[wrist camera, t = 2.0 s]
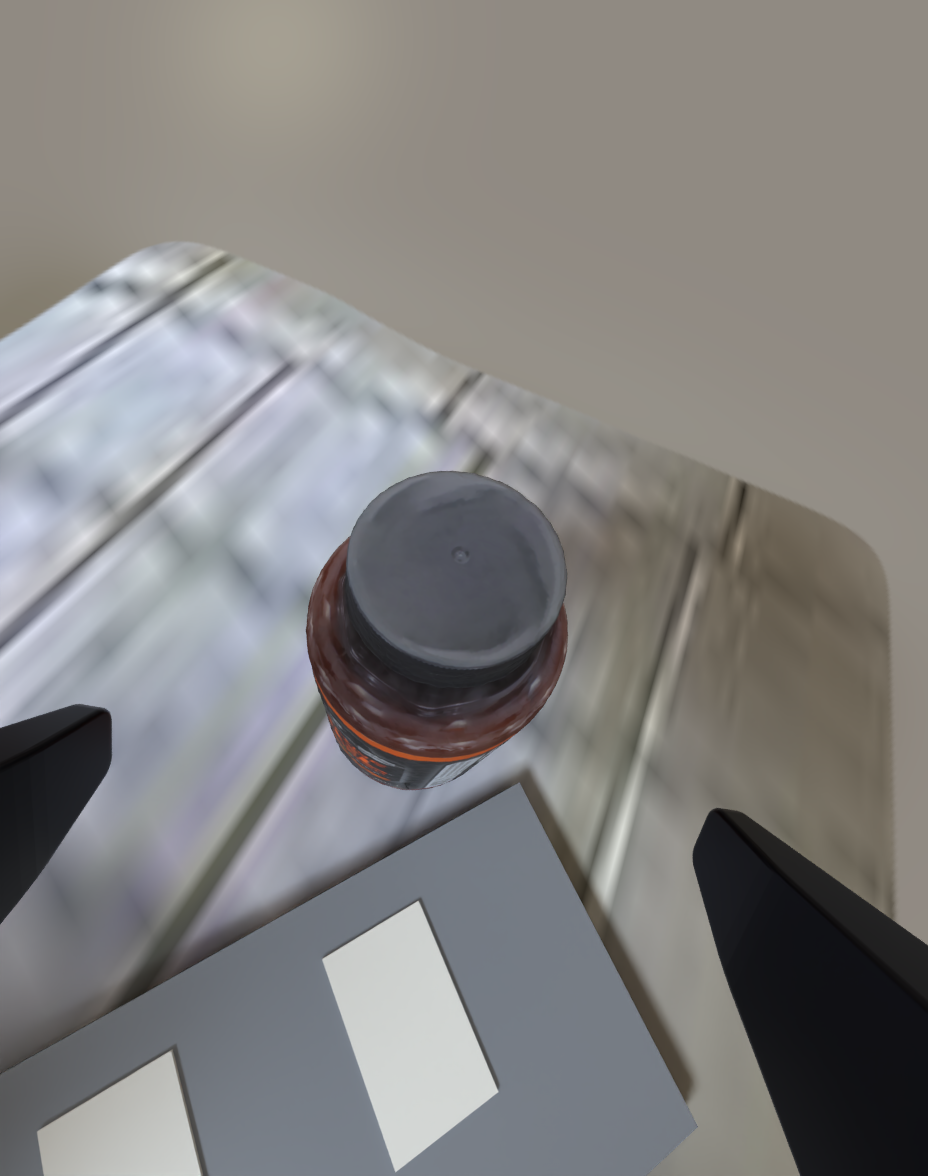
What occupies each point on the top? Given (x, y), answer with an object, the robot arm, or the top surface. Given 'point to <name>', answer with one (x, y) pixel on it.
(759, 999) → the robot arm
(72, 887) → the top surface
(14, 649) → the top surface
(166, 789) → the top surface
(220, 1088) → the label panel
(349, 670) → the supplement bottle
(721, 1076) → the top surface
